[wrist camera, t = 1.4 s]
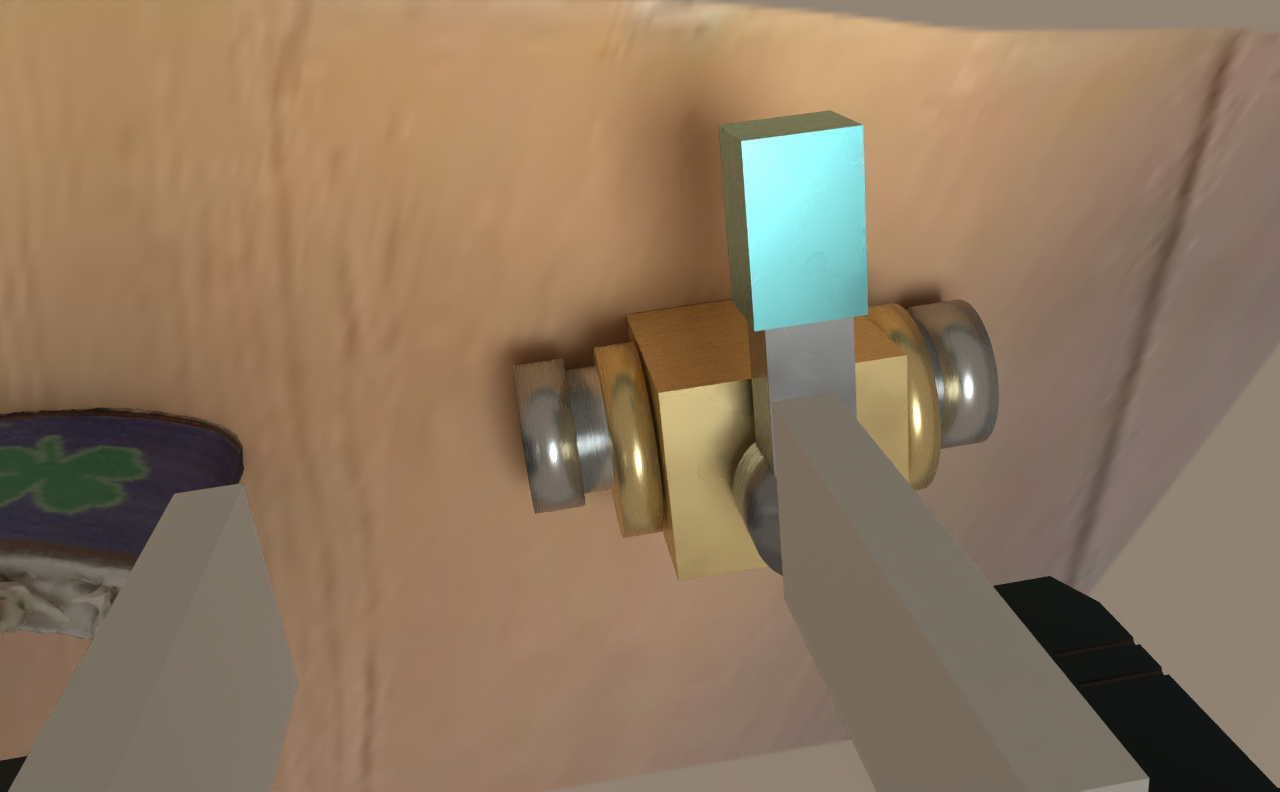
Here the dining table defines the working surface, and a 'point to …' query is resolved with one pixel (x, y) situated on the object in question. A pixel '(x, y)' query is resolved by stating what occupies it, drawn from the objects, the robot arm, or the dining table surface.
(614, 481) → the pipe valve
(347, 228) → the dining table surface
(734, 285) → the lever
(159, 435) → the flask
